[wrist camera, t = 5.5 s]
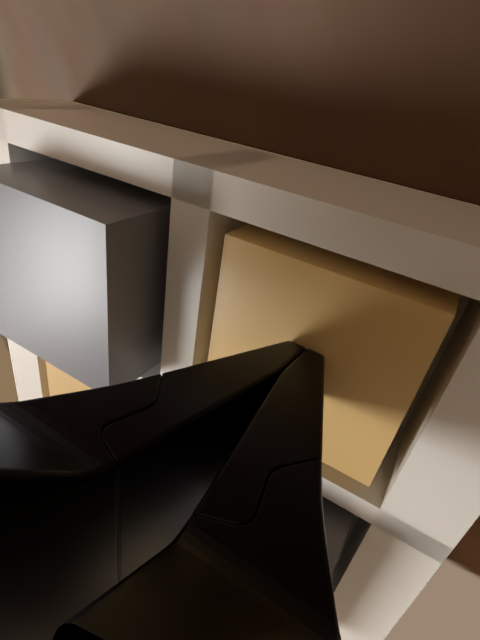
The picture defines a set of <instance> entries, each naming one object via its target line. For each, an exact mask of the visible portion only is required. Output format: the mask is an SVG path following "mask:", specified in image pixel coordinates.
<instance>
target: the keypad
mask: <svg viewBox="0 0 480 640" xmlns="http://www.w3.org/2000/svg"><path fill="white" fill-rule="evenodd" d="M47 159H58V160H61V161H64V162H67V163H70V164H73V165H76V166H79V167H82V168H85V169H88V170H91V171H94V172H97V173H100V174H103V175H106V176H109V177H112V178H115V179H118V180H121V181H123V182H126V183H129V184H132V185H135V186H138V187H141V188H144V189H147V190H150V191H153V192H156V193H159V194H162V195H165V196H168V197H171V210H170V226H169V242H168V258H167V274H166V290H165V306H164V322H163V338H162V354H161V362H160V363H158V364H157V365H156V366H154V367H153V368H152V369H150V370H149V371H147V372H146V373H145V374H143V375H142V376H141V377H139V378H138V379H141V378H146V377H149V376H153V375H157V374H161V376H162V374H163V373H165V372H169V371H173V370H177V369H181V368H185V367H188V366H192V365H196V364H200V363H204V362H207V361H208V354H209V347H210V340H211V332H212V325H213V318H214V311H215V303H216V296H217V289H218V282H219V274H220V267H221V260H222V253H223V245H224V238H225V234H226V233H229V232H231V231H233V230H236V229H238V228H240V227H242V226H245V225H247V224H252V225H255V226H258V227H261V228H264V229H267V230H270V231H273V232H276V233H279V234H282V235H285V236H288V237H291V238H294V239H297V240H300V241H303V242H306V243H309V244H312V245H315V246H318V247H320V248H323V249H326V250H329V251H332V252H335V253H338V254H341V255H344V256H347V257H350V258H353V259H356V260H359V261H362V262H365V263H368V264H371V265H374V266H377V267H380V268H383V269H386V270H389V271H392V272H395V273H398V274H401V275H404V276H407V277H410V278H413V279H416V280H419V281H422V282H425V283H428V284H431V285H434V286H437V287H440V288H443V289H446V290H449V291H452V292H455V293H458V294H460V297H459V301H458V306H457V310H456V315H455V317H454V319H453V321H452V323H451V325H450V327H449V329H448V331H447V333H446V335H445V337H444V339H443V341H442V343H441V345H440V347H439V349H438V351H437V353H436V355H435V357H434V359H433V361H432V363H431V365H430V367H429V369H428V371H427V373H426V375H425V377H424V379H423V381H422V383H421V385H420V387H419V389H418V391H417V393H416V395H415V397H414V399H413V401H412V403H411V405H410V407H409V409H408V411H407V413H406V415H405V417H404V419H403V421H402V423H401V425H400V427H399V429H398V431H397V433H396V435H395V437H394V439H393V441H392V443H391V445H390V447H389V449H388V451H387V453H386V455H385V457H384V458H383V460H382V462H381V464H380V466H379V468H378V470H377V472H376V474H375V476H374V478H373V480H372V482H371V484H370V486H369V487H368V486H366V485H364V484H363V483H361V482H359V481H357V480H355V479H353V478H351V477H349V476H348V475H346V474H344V473H342V472H340V471H338V470H336V469H335V468H333V467H331V466H329V465H327V464H325V463H323V462H322V496H323V497H325V498H327V499H328V500H330V501H332V502H334V503H335V504H337V505H339V506H341V507H342V508H344V509H346V510H348V511H349V512H351V513H353V514H354V516H353V519H352V522H351V525H350V527H349V530H348V533H347V536H346V538H345V541H344V544H343V547H342V549H341V552H340V555H339V558H338V560H337V563H336V566H335V569H334V571H333V574H332V584H333V591H334V599H335V606H336V613H337V619H338V625H339V630H340V635H341V640H384V638H385V637H386V636H387V634H388V633H389V632H390V631H391V629H392V628H393V627H394V625H395V624H396V623H397V621H398V620H399V619H400V618H401V616H402V615H403V614H404V612H405V611H406V610H407V609H408V607H409V606H410V605H411V603H412V602H413V601H414V599H415V598H416V597H417V596H418V594H419V593H420V592H421V590H422V589H423V588H424V587H425V585H426V584H427V583H428V581H429V580H430V579H431V577H432V576H433V575H434V574H435V572H436V571H437V570H438V568H439V567H440V566H441V565H442V563H443V562H444V561H445V559H446V558H447V557H448V556H449V554H450V553H451V552H452V550H453V549H454V548H455V547H456V545H457V544H458V543H459V541H460V540H461V539H462V537H463V536H464V535H465V534H466V532H467V531H468V530H469V528H470V527H471V526H472V525H473V523H474V522H475V521H476V519H477V518H478V517H479V515H480V206H479V205H475V204H471V203H467V202H463V201H459V200H456V199H452V198H448V197H444V196H440V195H436V194H432V193H428V192H424V191H420V190H417V189H413V188H409V187H405V186H401V185H397V184H393V183H389V182H385V181H381V180H378V179H374V178H370V177H366V176H362V175H358V174H354V173H350V172H346V171H343V170H339V169H335V168H331V167H327V166H323V165H319V164H315V163H311V162H307V161H304V160H300V159H296V158H292V157H288V156H284V155H280V154H276V153H272V152H268V151H265V150H261V149H257V148H253V147H249V146H245V145H241V144H237V143H233V142H229V141H226V140H222V139H218V138H214V137H210V136H206V135H202V134H198V133H194V132H191V131H187V130H183V129H179V128H175V127H171V126H167V125H163V124H159V123H155V122H152V121H148V120H144V119H140V118H136V117H132V116H128V115H124V114H120V113H116V112H113V111H109V110H105V109H101V108H97V107H93V106H89V105H85V104H81V103H78V102H74V101H58V100H27V99H0V164H6V163H16V162H26V161H36V160H47ZM7 339H8V338H7ZM8 344H9V350H10V355H11V361H12V366H13V372H14V378H15V383H16V389H17V394H18V400H19V401H25V400H31V399H36V398H42V397H48V396H50V393H49V385H48V377H47V369H46V361H45V360H43V359H42V358H40V357H38V356H37V355H35V354H33V353H32V352H30V351H28V350H27V349H25V348H23V347H22V346H20V345H18V344H16V343H15V342H13V341H11V340H10V339H8ZM136 380H137V379H136Z"/></svg>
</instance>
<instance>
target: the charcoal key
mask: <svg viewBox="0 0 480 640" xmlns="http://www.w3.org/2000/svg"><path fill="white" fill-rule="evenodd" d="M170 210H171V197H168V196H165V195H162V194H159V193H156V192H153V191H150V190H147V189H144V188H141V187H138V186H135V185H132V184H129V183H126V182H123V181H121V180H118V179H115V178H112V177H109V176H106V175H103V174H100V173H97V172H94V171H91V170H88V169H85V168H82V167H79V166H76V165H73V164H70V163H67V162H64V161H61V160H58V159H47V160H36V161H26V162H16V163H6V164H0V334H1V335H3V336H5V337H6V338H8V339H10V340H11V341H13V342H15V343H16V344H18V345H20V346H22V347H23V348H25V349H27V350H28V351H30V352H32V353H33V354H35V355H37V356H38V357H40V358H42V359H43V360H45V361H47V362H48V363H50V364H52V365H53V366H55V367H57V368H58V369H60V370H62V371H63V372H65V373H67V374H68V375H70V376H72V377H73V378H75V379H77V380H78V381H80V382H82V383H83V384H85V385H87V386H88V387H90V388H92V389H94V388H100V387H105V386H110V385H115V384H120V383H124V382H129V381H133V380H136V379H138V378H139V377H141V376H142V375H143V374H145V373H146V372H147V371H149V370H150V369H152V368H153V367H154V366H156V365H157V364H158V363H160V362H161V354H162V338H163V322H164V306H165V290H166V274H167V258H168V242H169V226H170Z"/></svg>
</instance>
